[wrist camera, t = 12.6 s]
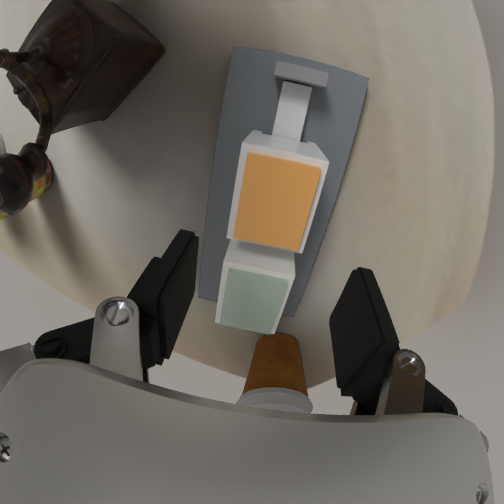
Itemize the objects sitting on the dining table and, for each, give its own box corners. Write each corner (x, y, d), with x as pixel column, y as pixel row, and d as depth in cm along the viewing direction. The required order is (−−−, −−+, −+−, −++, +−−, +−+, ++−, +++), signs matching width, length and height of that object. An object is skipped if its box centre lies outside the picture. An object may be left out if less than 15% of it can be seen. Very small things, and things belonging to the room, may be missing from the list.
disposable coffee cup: (232, 341, 40) (218, 412, 29) (283, 314, 36) (281, 393, 25) (272, 370, 43) (268, 435, 33) (322, 348, 39) (327, 419, 29)
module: (253, 129, 23) (240, 143, 16) (315, 143, 23) (331, 164, 16) (240, 200, 26) (224, 242, 19) (297, 212, 26) (302, 258, 20)
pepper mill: (58, 75, 21) (-68, 102, 6) (115, 1, 16) (-13, -27, 1) (130, 156, 26) (2, 238, 11) (203, 82, 22) (75, 73, 7)
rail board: (236, 49, 20) (211, 24, 12) (364, 79, 20) (407, 72, 12) (201, 289, 35) (179, 347, 27) (292, 308, 35) (293, 370, 27)
